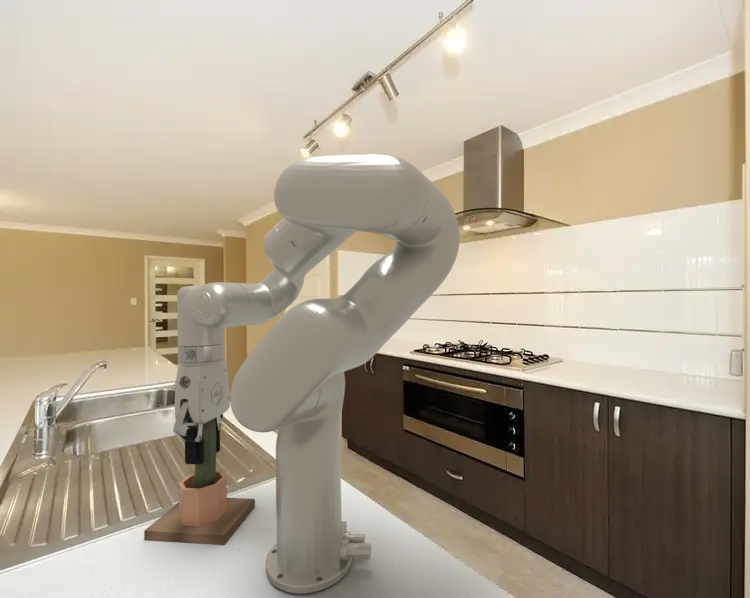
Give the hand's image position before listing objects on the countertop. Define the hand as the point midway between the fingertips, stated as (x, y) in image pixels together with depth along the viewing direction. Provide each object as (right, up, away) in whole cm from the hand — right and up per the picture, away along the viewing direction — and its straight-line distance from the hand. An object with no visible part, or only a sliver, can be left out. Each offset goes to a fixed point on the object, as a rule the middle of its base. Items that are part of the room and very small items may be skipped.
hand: (203, 456), depth 65 cm
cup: (0, -10, 0) cm, 10 cm away
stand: (0, -12, 0) cm, 12 cm away
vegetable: (0, -9, 0) cm, 9 cm away
